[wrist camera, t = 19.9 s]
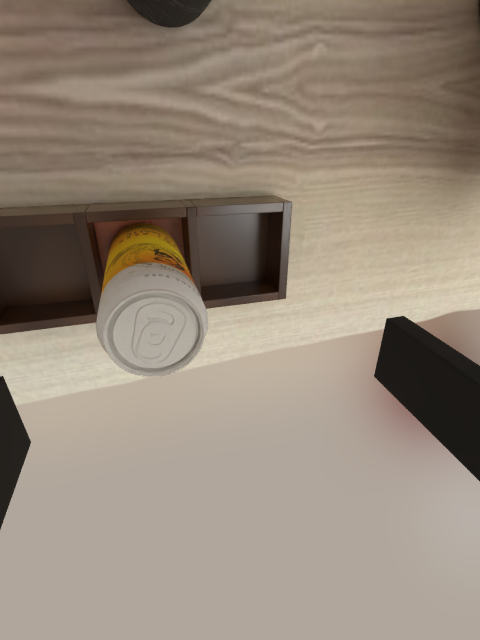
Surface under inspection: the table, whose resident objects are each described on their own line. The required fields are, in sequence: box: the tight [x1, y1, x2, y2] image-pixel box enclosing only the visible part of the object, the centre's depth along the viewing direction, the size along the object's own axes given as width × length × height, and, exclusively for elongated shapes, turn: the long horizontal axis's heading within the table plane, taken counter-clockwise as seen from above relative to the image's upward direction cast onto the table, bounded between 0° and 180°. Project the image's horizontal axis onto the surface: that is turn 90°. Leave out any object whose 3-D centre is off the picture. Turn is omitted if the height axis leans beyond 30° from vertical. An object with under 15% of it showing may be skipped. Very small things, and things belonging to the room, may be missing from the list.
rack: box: [0, 196, 292, 334], centre depth 30 cm, size 26×9×4 cm, turn 91°
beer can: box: [96, 223, 208, 377], centre depth 24 cm, size 6×6×15 cm
